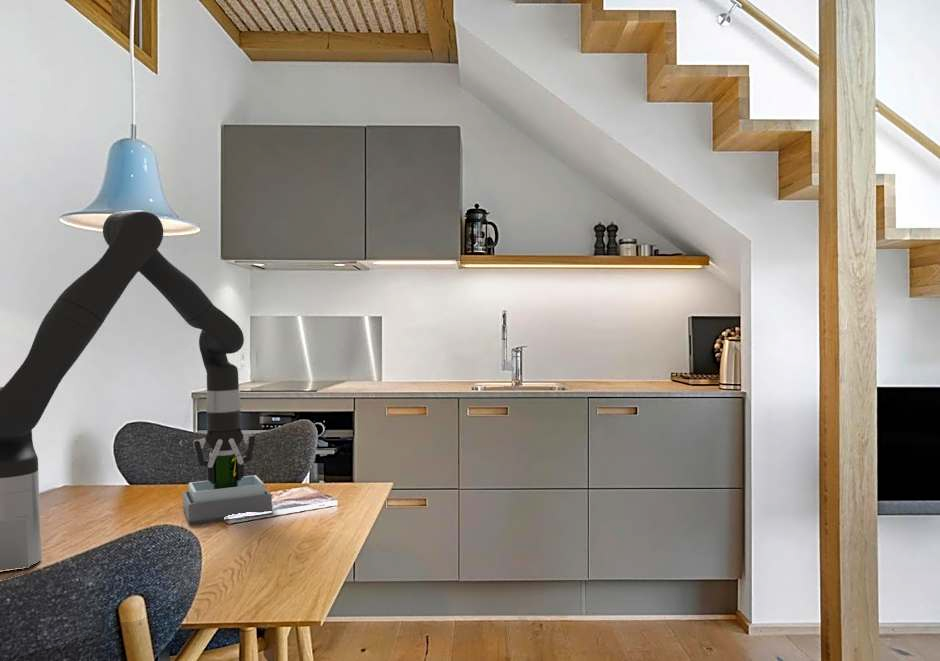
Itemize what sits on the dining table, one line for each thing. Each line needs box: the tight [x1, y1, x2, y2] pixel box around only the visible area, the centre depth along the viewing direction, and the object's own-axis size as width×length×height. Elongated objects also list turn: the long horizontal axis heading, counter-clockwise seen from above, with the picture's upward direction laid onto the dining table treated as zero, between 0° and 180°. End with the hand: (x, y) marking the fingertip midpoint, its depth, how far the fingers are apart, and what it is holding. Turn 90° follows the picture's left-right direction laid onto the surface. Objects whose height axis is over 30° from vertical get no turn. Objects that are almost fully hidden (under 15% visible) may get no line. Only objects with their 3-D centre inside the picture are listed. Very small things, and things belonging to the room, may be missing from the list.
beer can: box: [213, 449, 238, 489], centre depth 175 cm, size 5×5×12 cm
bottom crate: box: [182, 487, 273, 526], centre depth 175 cm, size 14×18×4 cm
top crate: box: [188, 474, 266, 504], centre depth 175 cm, size 11×15×6 cm
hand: (225, 481), depth 175 cm, fingers closed on beer can, 5 cm apart
